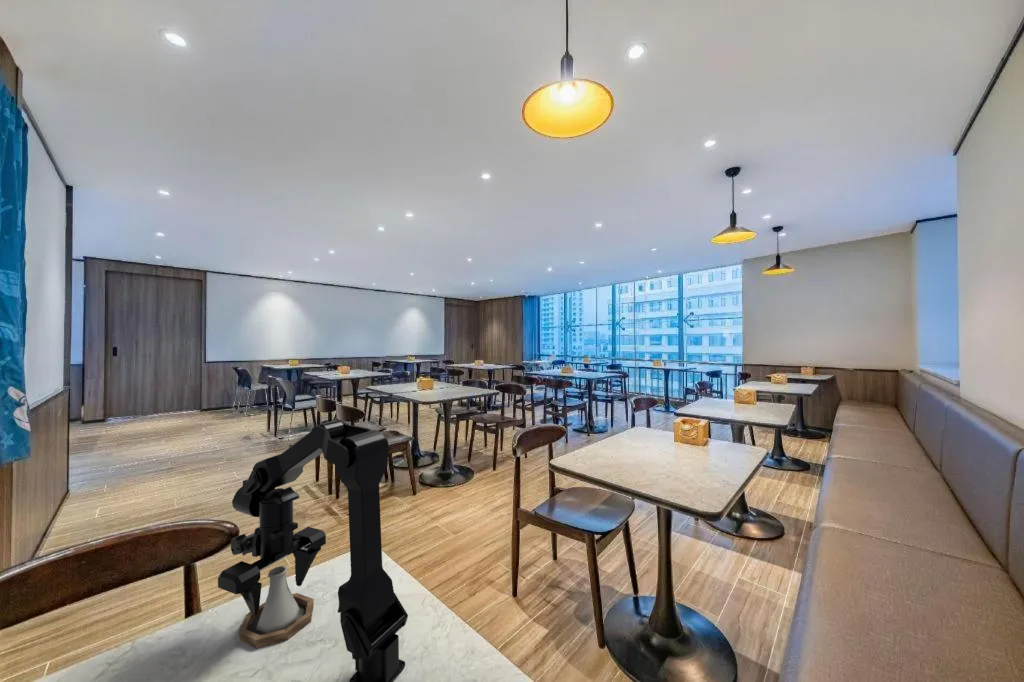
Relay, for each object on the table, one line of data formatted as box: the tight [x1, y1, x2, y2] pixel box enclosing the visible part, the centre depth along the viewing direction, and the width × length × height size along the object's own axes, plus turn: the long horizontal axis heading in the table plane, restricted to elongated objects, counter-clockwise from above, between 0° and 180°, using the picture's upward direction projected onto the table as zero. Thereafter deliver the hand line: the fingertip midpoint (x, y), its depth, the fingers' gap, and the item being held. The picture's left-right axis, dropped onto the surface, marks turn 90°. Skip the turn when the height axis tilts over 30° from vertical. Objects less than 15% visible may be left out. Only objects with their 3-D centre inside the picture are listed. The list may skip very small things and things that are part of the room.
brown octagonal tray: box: [238, 592, 315, 649], centre depth 76 cm, size 12×12×2 cm
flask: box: [256, 565, 300, 633], centre depth 76 cm, size 7×7×10 cm
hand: (277, 599), depth 76 cm, fingers open, 9 cm apart
